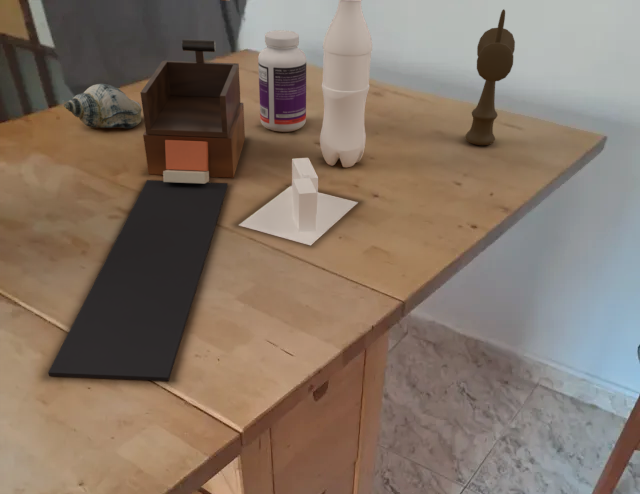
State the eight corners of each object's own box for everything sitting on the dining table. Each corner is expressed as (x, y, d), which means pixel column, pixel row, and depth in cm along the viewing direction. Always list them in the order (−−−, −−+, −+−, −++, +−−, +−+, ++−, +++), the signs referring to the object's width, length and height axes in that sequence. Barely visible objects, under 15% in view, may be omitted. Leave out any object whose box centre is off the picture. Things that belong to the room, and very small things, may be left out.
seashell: (143, 137, 119) (71, 139, 117) (141, 105, 122) (71, 106, 120) (138, 108, 113) (62, 109, 111) (137, 75, 116) (63, 75, 114)
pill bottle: (313, 122, 123) (315, 32, 113) (293, 137, 117) (293, 43, 107) (273, 114, 125) (271, 25, 115) (251, 128, 120) (248, 36, 110)
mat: (168, 381, 69) (168, 377, 68) (49, 376, 69) (47, 372, 68) (227, 186, 102) (227, 183, 102) (147, 183, 102) (146, 179, 102)
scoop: (227, 137, 100) (223, 71, 94) (146, 134, 100) (136, 67, 94) (240, 101, 112) (237, 40, 106) (167, 98, 112) (160, 36, 106)
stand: (233, 177, 104) (231, 138, 100) (148, 174, 104) (142, 134, 100) (245, 139, 116) (243, 102, 112) (168, 136, 116) (164, 99, 112)
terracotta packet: (208, 171, 102) (206, 170, 101) (168, 169, 102) (166, 169, 101) (208, 142, 101) (206, 141, 99) (167, 140, 101) (164, 139, 99)
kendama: (497, 134, 121) (523, 4, 108) (496, 154, 114) (524, 18, 101) (463, 130, 122) (485, 1, 108) (460, 150, 115) (483, 14, 102)
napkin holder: (289, 185, 103) (289, 146, 99) (358, 201, 100) (361, 162, 96) (237, 225, 93) (235, 184, 89) (311, 245, 90) (312, 204, 86)
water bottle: (317, 152, 113) (323, -28, 96) (361, 152, 113) (373, -26, 96) (321, 170, 107) (326, -17, 90) (366, 170, 108) (380, -16, 91)
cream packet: (208, 170, 103) (209, 181, 103) (169, 169, 103) (169, 179, 103) (204, 172, 99) (204, 183, 100) (162, 171, 99) (163, 182, 100)
